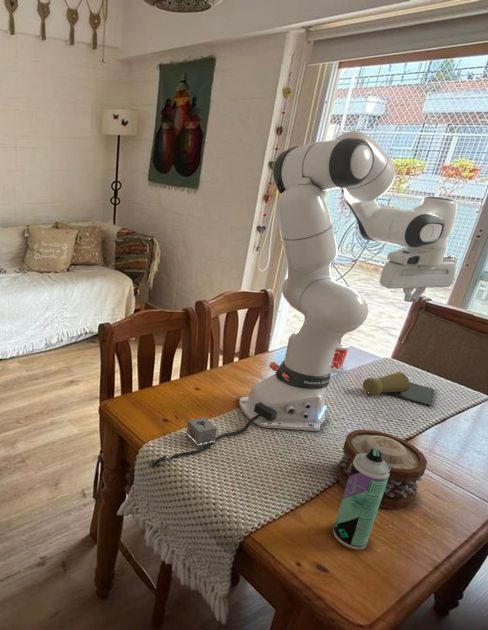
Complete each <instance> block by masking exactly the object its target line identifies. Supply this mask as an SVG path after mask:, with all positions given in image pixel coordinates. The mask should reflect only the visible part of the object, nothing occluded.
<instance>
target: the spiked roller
mask: <svg viewBox="0 0 488 630" xmlns="http://www.w3.org/2000/svg"><path fill="white" fill-rule="evenodd" d="M344 440H345V441H344V444H343V447H341V449H342V450H341V451H342V453H343V454H342V455H341V456H342V457H341V458H340V461H339V463H338V466H337V469H336V477H337V480H338V482H339V483H340V484H341V486H342V487H343V488H344V489H345V488H346V485H347V481H348V478H349V474H350V471H351V467H352V464H353V460H354V459H355V456H356V455H358V454H362V453H364V454H366V453H369V452H370V450H371V449H376V450H378V451H380V452H381V454H382V455H381V457H382V459H383V460H384V461H385V462H387V463H388V465H389V466H390V475H389V478H388V481H387V484H386V487H385V490H384V493H383V496H382V499H381V502H380V505H379V508H382V509H390V510H401V509H407V508H409V507H411V506H412V505H413V504H414V501H415V500H416V496H417V491H418V489H419V488H420V486H419V485H418V483H417V482H419V481H422V482H423V479H422V478H421V477H423V476H424V474H425V472H426V469H427V466H428V465H427V464H428V463H427V462H428V460H427V458H426V457H425V455H424V453H423V452H422V451H421V450H419V449H418V448H417V447H416V446H415V445H413V444H411V443H410V442H408V441H406V440H405V439H403V438H400V437H398V436H396V435H393V434H390V433H387V432H382V431H379V430H373V429H372V430H371V429H357V430H353V431H351V432H349V433H348V434H347V435H346V437H345V439H344Z"/></svg>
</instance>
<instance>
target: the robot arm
mask: <svg viewBox="0 0 488 630" xmlns="http://www.w3.org/2000/svg"><path fill="white" fill-rule="evenodd" d="M396 173H397V172H396V168H395V165H394V163H393V161H392V160H391V159H390V157H389V156H388V155H387V153H386V152H385V151H384V149H383V148H382V147H381V146H380V144H378V143H377V142H376V141H375V140H374V139H373V138H371V137H370V136H368V135H367V134H366V133H364V132H363V131H359V130H350V131H347V132H343V133H342V134H340V135H339V136H337V137H336V138H334V139H333V140H326V141H325V140H324V141H320V140H319V141H314V142H310V143H307V144H304V145H303V144H302V145H300V146H293V147H290V148H288V149H285V150H284V151H282V152H281V153H280V154H279V155H278V156H277V157H276V160H275V161H274V165H273V170H272V175H273V180H274V184H275V186H276V189H277V191H278V192H279V194H280V195H279V196H278V198H277V201H276V205H277V206H276V207H277V208H276V213H277V222H278V229H279V234H280V239H281V242H282V246H283V251H284V256H285V260H286V266H287V268H286V269H287V273H286V278H285V279H284V281H283V283H282V287H281V292H282V296H283V297H284V299H285V301H287V303H288V304H289V305H290V307H292V308H293V309H294V310H296V311H297V312H299V313H300V314H302V315H303V316H304V320H303V323H302V325H301V328H300V329H299V330H297V331H295V332H292V334H290V336H289V337H288V341H287V346H286V351H285V356H284V360H283V361H282V362H281V364H280V365H279V364H277V363H276V362H275V361H271V362H270V363H269V366H268V367H269V368H270V369H271V370H272V371H273V372H275V373H274V374H271V375H270V376H269V377H267V378H265V379H263V380H261V381H259V382H257V383H256V384H254V385H253V386H252V388H251V389H250V391H249V395H248V396H247V395H246V396H242V397H240V398H239V400H238V406H239V408H240V410H241V411H242V413H243V414H244V415H245V416H246V418H248V419H249V421H248V422H247V423H246V425H245V426H244V427H242V428H241V429H240V430H237V431H233V432H227V433H226V432H225V433H222V434H219V435H217V436H216V438H215V443H216V442H218V441H219V440H220V439H222V438H226V437H230V436H236V435H240V434H242V433H244V432H245V431H246V430H247V429H249V427H250V426H251V425H252V423H254V424H255V425H257V426H259V427H261V428H268V429H281V430H296V431H298V430H299V431H310V432H318V431H320V430H321V425H322V424H323V423H324V422H325V421H326V419H327V418H326V409H327V405H326V402H325V401H326V392H327V387H328V386H329V384H330V381H331V376H332V371H331V370H330V368H331V364H332V360H333V357H334V353H335V350H336V347H337V345H338V343H339V341H340V340H341V341H342V339H343V338H344V336H346V334H348V333H351V332H353V331H356V330H357V329H359V328H360V327H361V326H362V325H363V324H364V323H365V321H366V319H367V317H368V314H369V306H368V302H367V301H366V300H365V299H364V298H363V297H362V296H361V295H360V294H359V293H358V292H357V291H356V290H354V289H353V288H351V287H349V286H347V285H344V284H342V283H340V282H338V281H336V279H334V278H333V276H332V273H331V266H332V265H331V264H332V263H333V262H334V261H335V260H336V259H337V256H338V246H337V240H336V236H335V231H334V227H333V222H332V221H333V220H332V217H331V214H330V213H331V212H330V209H329V207H328V204H327V201H326V196H327V195H326V194H327V191H331V190H337V189H341V195H342V198H343V201H345V203H346V205H347V207H348V208H349V210H350V212H351V213H352V215H353V216H354V218H355V220H356V222H357V226H358V230H359V233H360V236H361V237H362V238H363V239H364V240H366V241H369V242H378V243H385V244H390V245H394V246H399V247H401V248H399V249H397V250H396V249H395V250H393V251H391V252H389V253H387V256H386V260H388V261H386V262H385V264H384V265H383V268H382V271H381V274H380V277H379V284H380V286H382V288H383V287H384V288H386V289H390V290H391V289H402V291H403V293H404V298H403V301H404V302H407V303H417V302H419V299H420V297H421V296H422V295H423V294H424V293H425V292H426V289H428V288H429V289H430V288H449V287H451V286H452V285H453V284H454V281H455V279H456V278H455V276H456V271H457V261H458V260H457V258H456V256H454V255H453V254H446V252H447V249H448V239H449V237H450V235H452V233H453V230H454V226H455V222H456V217H457V211H458V203H457V202H456V201H455V200H453V199H451V198H446V197H439V196H426V197H424V198H423V199H422V200H421V202H420V204H419V205H417V206H416V207H414V208H411V209H401V208H395V207H387V206H383V205H381V204H379V203H378V202H377V199H378V198H380V197H382V196H383V195H384V194H385V193H387V192H388V190H389V189H390V188H391V187H392V185H393V184H394V181H395V179H396V175H397V174H396ZM412 292H413V293H412ZM265 422H266V423H268V424H267V425H264V424H261V423H265ZM320 422H321V423H320ZM272 423H276V424H277V425H284V424H285V425H284V426H277V425H271V424H272ZM307 423H308V424H307ZM309 423H311V424H309ZM312 424H313V425H312ZM300 425H302V426H301V427H291V426H300ZM305 425H306V427H314V428H305ZM213 444H214V443H209V444H208V445H207V446H205V447H203V448H199V449H195V450H191V451H184V452H179V453H175V454H172V455H173V456H172V457H170V458H167V459H165V458H166V457H167V456H168V455H164V456H161V457H159V458H157V459H156V460H155V461H154V462H153V463H152V466H153V467H156V466H158V464H159V463H160V462H163V461H164V460H169V459H176V458H179V457H185V456H189V455H195V454H198V453H202V452H205V451H206V450H208V449H210V447H212V446H214V445H213Z"/></svg>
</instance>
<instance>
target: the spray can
mask: <svg viewBox="0 0 488 630" xmlns="http://www.w3.org/2000/svg"><path fill="white" fill-rule="evenodd" d="M381 455H382V454H381V452H380V451H378V450H376V449H371V450H370V452H369V453H366V454H364V453H362V454H358V455H356V456H355V459H354V460H353V464H352V467H351V471H350V474H349V478H348V481H347V485H346V488H344V492H343V496H342V499H341V502H340V506H339V509H338V513H337V516H336V519H335V523H334V526H333V531H332V533H333V535H334V538H335V539H336V540H337V541H338V542H339V543H340V544H341V545H343V546H344V547H347V548H349V549H352V550H356V551H359V550H363V549H365V548H366V547H367V544H368V542H369V539H370V536H371V532H372V529H373V526H374V524H375V523H374V522H375V520H376V517H377V514H378V511H379V508H380V507H379V505H380V502H381V499H382V496H383V493H384V490H385V487H386V484H387V481H388V478H389V475H390V466H389V465H388V463H387V462H385V461H384V460H383V459H382V457H381Z"/></svg>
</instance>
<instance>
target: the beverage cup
mask: <svg viewBox="0 0 488 630" xmlns="http://www.w3.org/2000/svg"><path fill="white" fill-rule="evenodd" d="M350 347H351V345H350V344H349V343H347V342H344V341H342V339H341V340H340V341H339V343H338V345H337V347H336V350H335V353H334V357H333V360H332V364H331V368H330V370H331V372H341V371H342V368H343V365H344V362H345V361H346V360H345V359H346V358H347V357H346V356H347V354H348V351H349V350H350Z"/></svg>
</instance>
